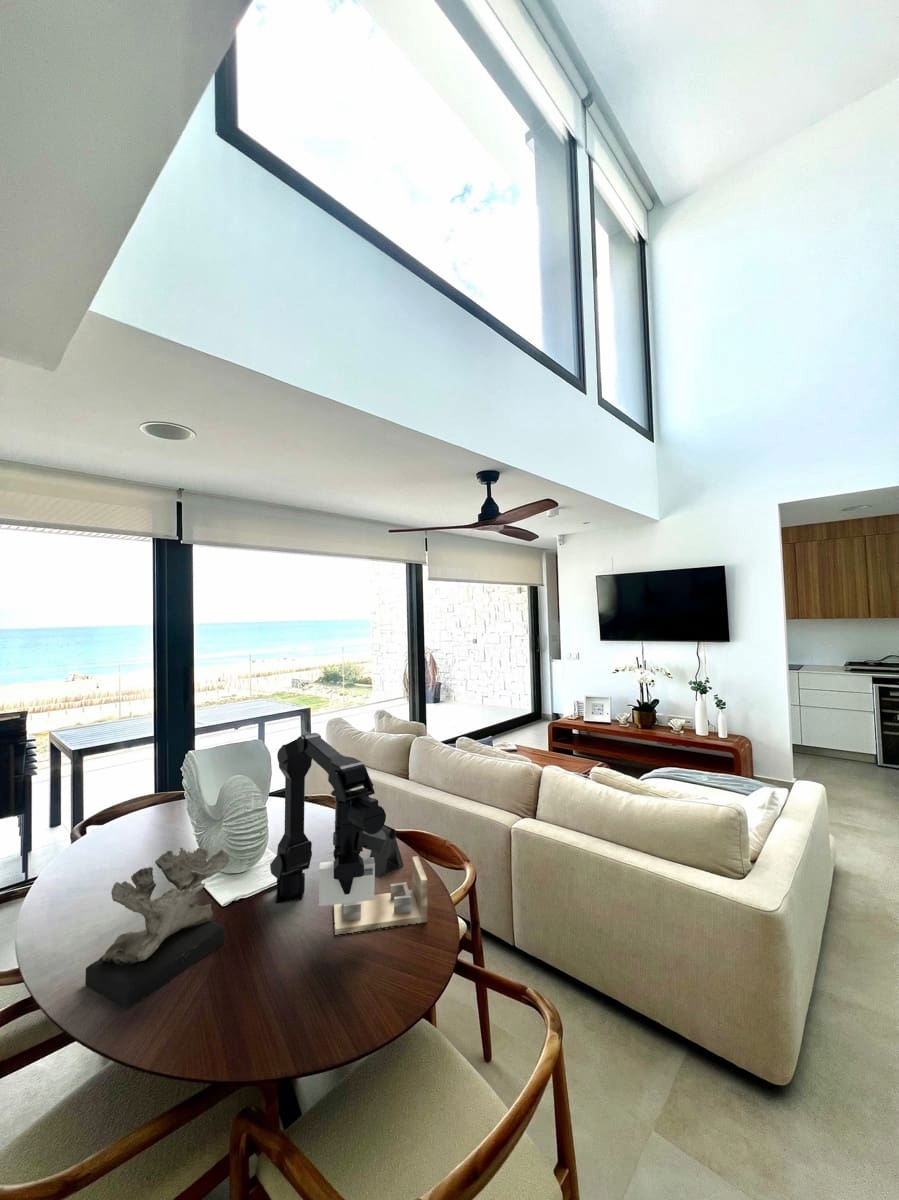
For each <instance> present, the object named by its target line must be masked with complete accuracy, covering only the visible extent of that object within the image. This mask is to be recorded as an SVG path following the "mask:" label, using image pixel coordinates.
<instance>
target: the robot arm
mask: <svg viewBox="0 0 899 1200" xmlns="http://www.w3.org/2000/svg"><path fill="white" fill-rule="evenodd" d="M312 760H313V761H314V762H315V763H317V765H318V766H319V767H321V768H322V769H323V770H324V772H326V773H327V775H328V777H327V778H328V779H327V781H328V783H329V784H330V785H331V788H333V790H332V791H331V793H330V794H331V796H332V797H335V803H334V804H335V806H334V807H335V809H334V810H335V811H334V813H335V814H334V831H333V833H332V846H334V849H333V857H334V860H333V861H334V879H336V880H337V879H338V880H339V882H340V885H341V887H342V889H343V892H344V894H345V895H346V894H350V890H351V886H352V882H353V878H355V877H362V876H363V875H364V862H363V858H364V857H362V856H361V855H360V854H361V852H363V851H364V849H365V850H369V851H371V850H372V851H376V853H382V850H383V847H384V844H385V842H386V835H385V832H383V830H382V827H383V825H385V824H386V819H387V814H386V811H385V809H384V807H382V806H380V805H379V799H377V798H373V797H371V796H372V795H374V794H376V793H375V789H374V787H373V786H374V783H373V781H372V779H371V777H370V775H369V772H368V770H367V767H366V765H365V764H364V763H363V761H361V760H360V759H357V758H355V757H353V756H352V757H351V756H345V755H343V754H341V753H340V752H339V751H337V750H336V749H335V748H334V747H333V746H331V745H330V744H329V743H328V742H327V741H325V740H324V739H323V738H322V736H321V735H320V733H318V732H313V733H306V734H302V735H300V736H298V737H297V738H296V739H294V740H292V741H291V742H290V741H289V742H288V743H286V744H283V745H282V746H281V747H280V748H279V749H278V751H277V761H278V768H279V770H280V771H281V773H282V774H283V776H284V781H285V782H284V784H285V785H284V792H285V793H284V834H283V835H282V838H281V839H280V841H279V842H278V843H277V844H278V845H277V851H276V856H275V857H274V859H273V860H272V861H271V862H270V863H269V864H270V865H269V867H270V874H271V875H272V876H273V877H274V878H276V895H275V896H276V897H275V903H277V904H279V903H280V904H281V903H284V902H285V903H286V902H294V901H301V900H303V895H304V894H305V887H306V886H305V885H306V883H305V881H306V872H304V871H305V870H308V869H310V865H311V860H312V857H313V851H312V845H313V843H312V841H311V840H309V839H308V837H307V835H306V834H305V798H306V797H305V791H306V790H305V789H306V788H305V787H306V785H305V782H306V781H305V780H306V776H307V774H308V772H309V771H310V770H311V767H312V762H313V761H312ZM357 788H358V789H357ZM353 789H354V790H353Z"/></svg>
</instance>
